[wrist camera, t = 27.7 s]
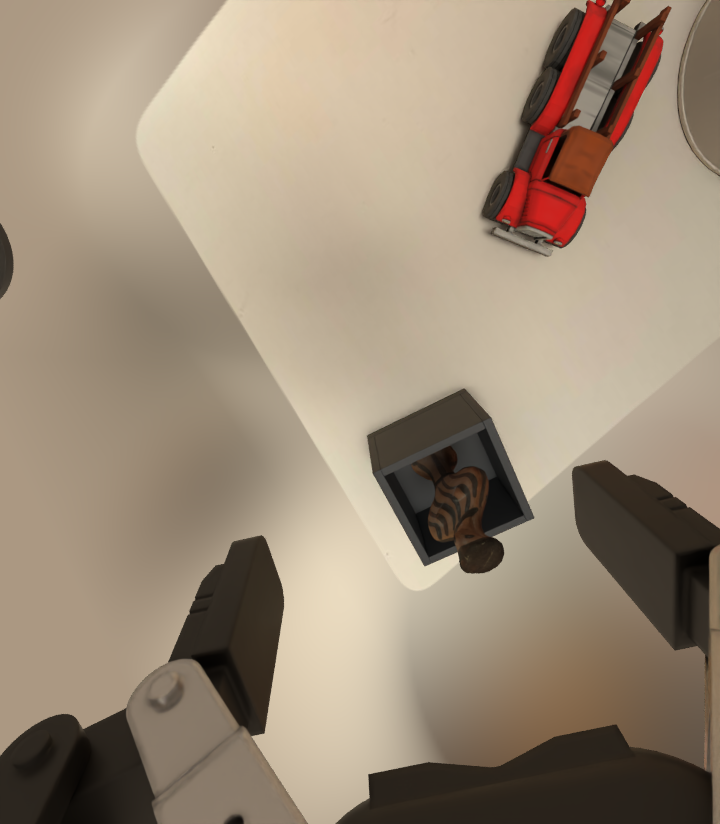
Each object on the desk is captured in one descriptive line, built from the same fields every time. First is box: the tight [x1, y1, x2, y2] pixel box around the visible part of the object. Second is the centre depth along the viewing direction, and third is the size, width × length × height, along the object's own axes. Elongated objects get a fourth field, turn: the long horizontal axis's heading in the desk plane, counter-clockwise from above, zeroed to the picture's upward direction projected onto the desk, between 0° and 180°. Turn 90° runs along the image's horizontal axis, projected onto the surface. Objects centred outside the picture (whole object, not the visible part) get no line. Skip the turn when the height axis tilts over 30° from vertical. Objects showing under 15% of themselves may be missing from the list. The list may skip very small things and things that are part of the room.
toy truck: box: [483, 0, 671, 256], centre depth 37 cm, size 8×18×8 cm, turn 160°
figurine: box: [411, 446, 504, 573], centre depth 41 cm, size 7×5×18 cm
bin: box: [367, 389, 534, 566], centre depth 47 cm, size 12×12×9 cm
